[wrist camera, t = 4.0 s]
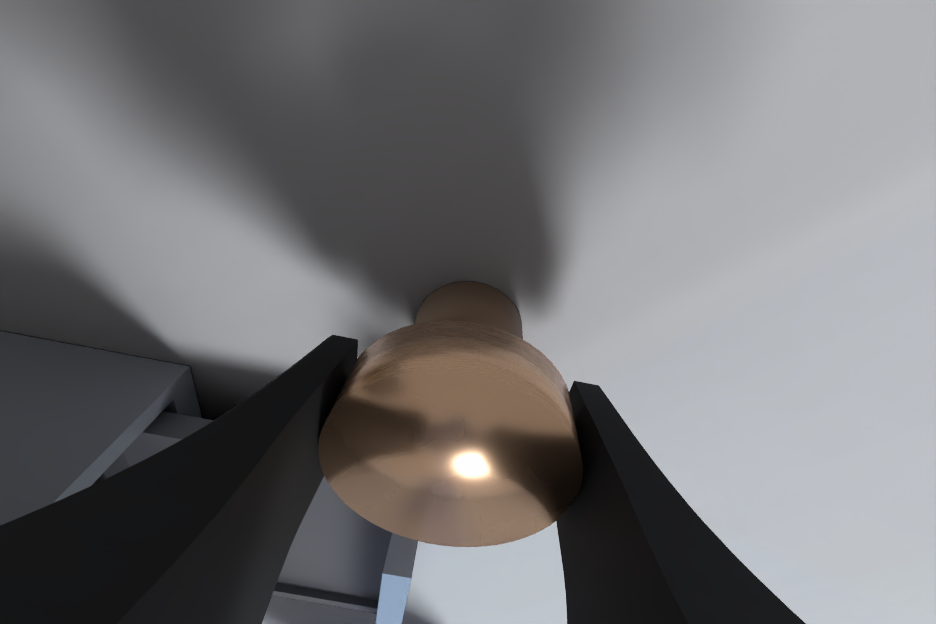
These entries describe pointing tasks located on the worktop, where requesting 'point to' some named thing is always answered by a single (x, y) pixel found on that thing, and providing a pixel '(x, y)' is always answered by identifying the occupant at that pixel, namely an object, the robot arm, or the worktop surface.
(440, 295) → the post
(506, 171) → the worktop surface
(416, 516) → the puck
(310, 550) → the tray
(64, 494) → the box
